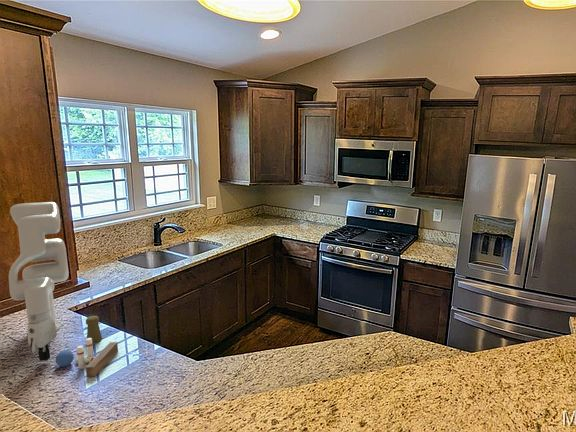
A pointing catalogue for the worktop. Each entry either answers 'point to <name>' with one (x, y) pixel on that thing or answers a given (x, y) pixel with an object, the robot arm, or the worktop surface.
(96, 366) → the wall
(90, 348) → the back left pin
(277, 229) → the worktop surface
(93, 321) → the cork
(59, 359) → the ball
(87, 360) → the front pin
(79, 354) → the back right pin
